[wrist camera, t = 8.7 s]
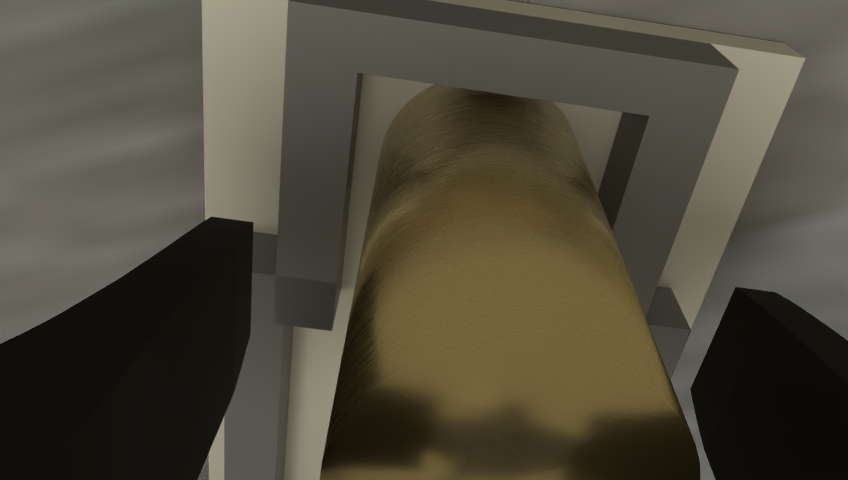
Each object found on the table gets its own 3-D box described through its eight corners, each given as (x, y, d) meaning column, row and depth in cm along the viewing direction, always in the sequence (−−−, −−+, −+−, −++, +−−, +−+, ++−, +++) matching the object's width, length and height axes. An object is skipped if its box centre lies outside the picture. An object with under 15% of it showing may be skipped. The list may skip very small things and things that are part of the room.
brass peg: (556, 263, 16) (642, 621, 9) (372, 244, 15) (314, 591, 9) (599, 86, 14) (755, 372, 7) (387, 62, 13) (327, 328, 7)
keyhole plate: (585, 533, 22) (601, 613, 20) (219, 491, 21) (193, 568, 19) (783, 42, 14) (844, 85, 12) (216, -45, 13) (174, -17, 11)
